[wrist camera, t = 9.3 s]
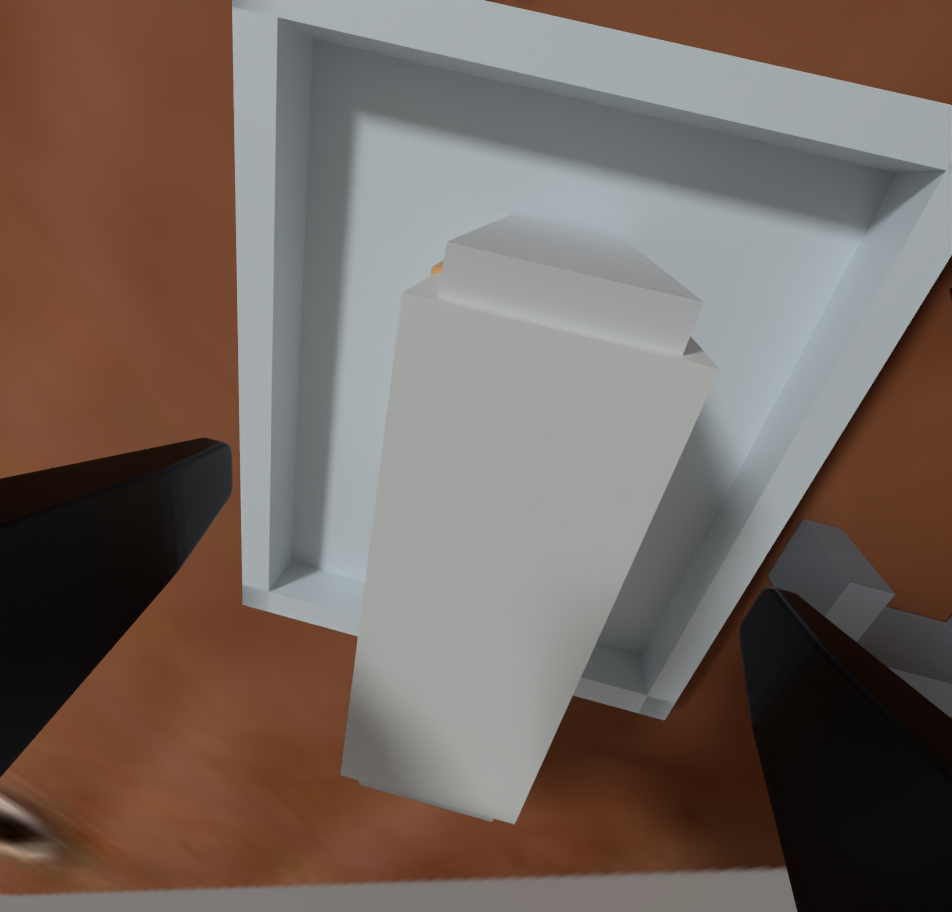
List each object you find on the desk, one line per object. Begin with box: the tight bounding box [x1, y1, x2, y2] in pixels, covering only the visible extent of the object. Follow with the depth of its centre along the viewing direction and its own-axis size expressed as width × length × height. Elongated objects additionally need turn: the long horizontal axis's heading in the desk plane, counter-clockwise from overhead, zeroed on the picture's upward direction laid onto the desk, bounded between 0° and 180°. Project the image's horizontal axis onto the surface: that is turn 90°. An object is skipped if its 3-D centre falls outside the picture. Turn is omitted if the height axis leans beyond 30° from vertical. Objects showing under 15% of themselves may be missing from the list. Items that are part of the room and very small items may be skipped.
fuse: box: [340, 214, 720, 824], centre depth 10 cm, size 3×9×7 cm, turn 168°
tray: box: [232, 0, 952, 721], centre depth 12 cm, size 13×15×2 cm
